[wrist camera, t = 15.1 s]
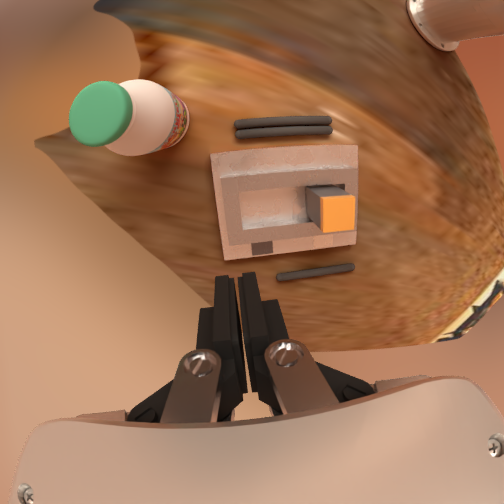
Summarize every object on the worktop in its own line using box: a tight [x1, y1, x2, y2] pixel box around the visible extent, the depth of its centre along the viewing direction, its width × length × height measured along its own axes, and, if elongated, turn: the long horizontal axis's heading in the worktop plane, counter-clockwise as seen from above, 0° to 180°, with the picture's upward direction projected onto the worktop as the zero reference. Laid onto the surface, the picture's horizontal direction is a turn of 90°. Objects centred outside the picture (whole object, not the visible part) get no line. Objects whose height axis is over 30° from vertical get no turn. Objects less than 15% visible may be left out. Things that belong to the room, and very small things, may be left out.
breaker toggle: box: [306, 185, 355, 233], centre depth 33 cm, size 4×4×7 cm
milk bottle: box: [69, 80, 189, 156], centre depth 22 cm, size 8×8×20 cm
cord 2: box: [276, 263, 355, 281], centre depth 42 cm, size 13×1×1 cm, turn 95°
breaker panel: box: [210, 145, 358, 260], centre depth 36 cm, size 15×20×4 cm
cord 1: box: [234, 116, 333, 139], centre depth 33 cm, size 13×3×1 cm, turn 95°
